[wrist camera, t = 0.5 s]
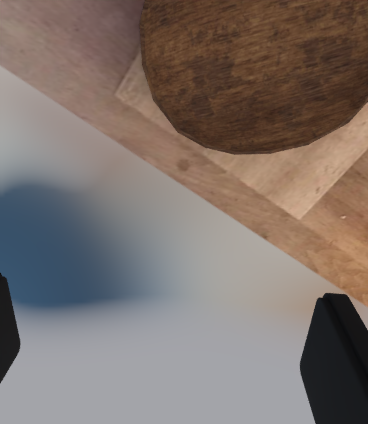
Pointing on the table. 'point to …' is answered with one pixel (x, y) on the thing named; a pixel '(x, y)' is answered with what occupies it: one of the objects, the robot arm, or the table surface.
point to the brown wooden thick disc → (256, 69)
